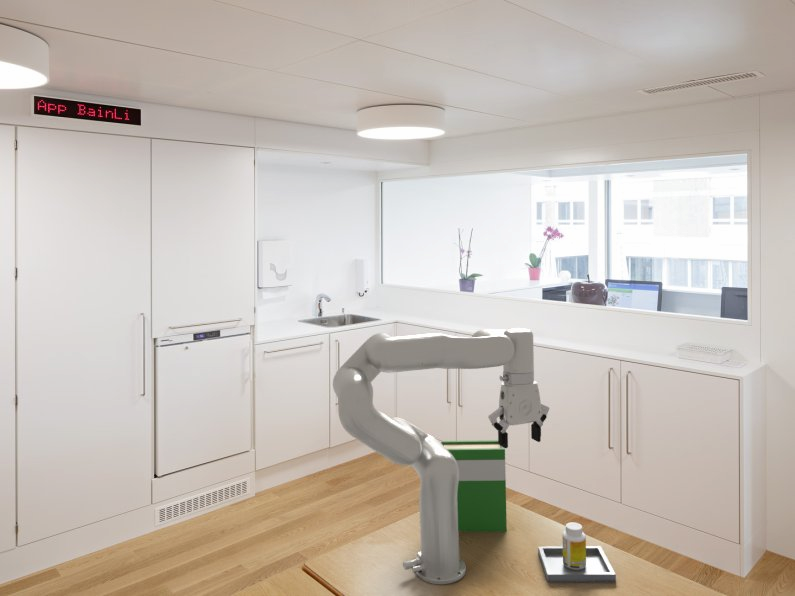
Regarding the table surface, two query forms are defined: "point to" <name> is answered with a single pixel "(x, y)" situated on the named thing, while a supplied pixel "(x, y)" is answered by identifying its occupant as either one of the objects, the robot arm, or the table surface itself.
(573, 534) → the supplement bottle
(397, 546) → the table surface
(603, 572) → the tray
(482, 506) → the hardback book
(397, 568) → the table surface
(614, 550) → the table surface
